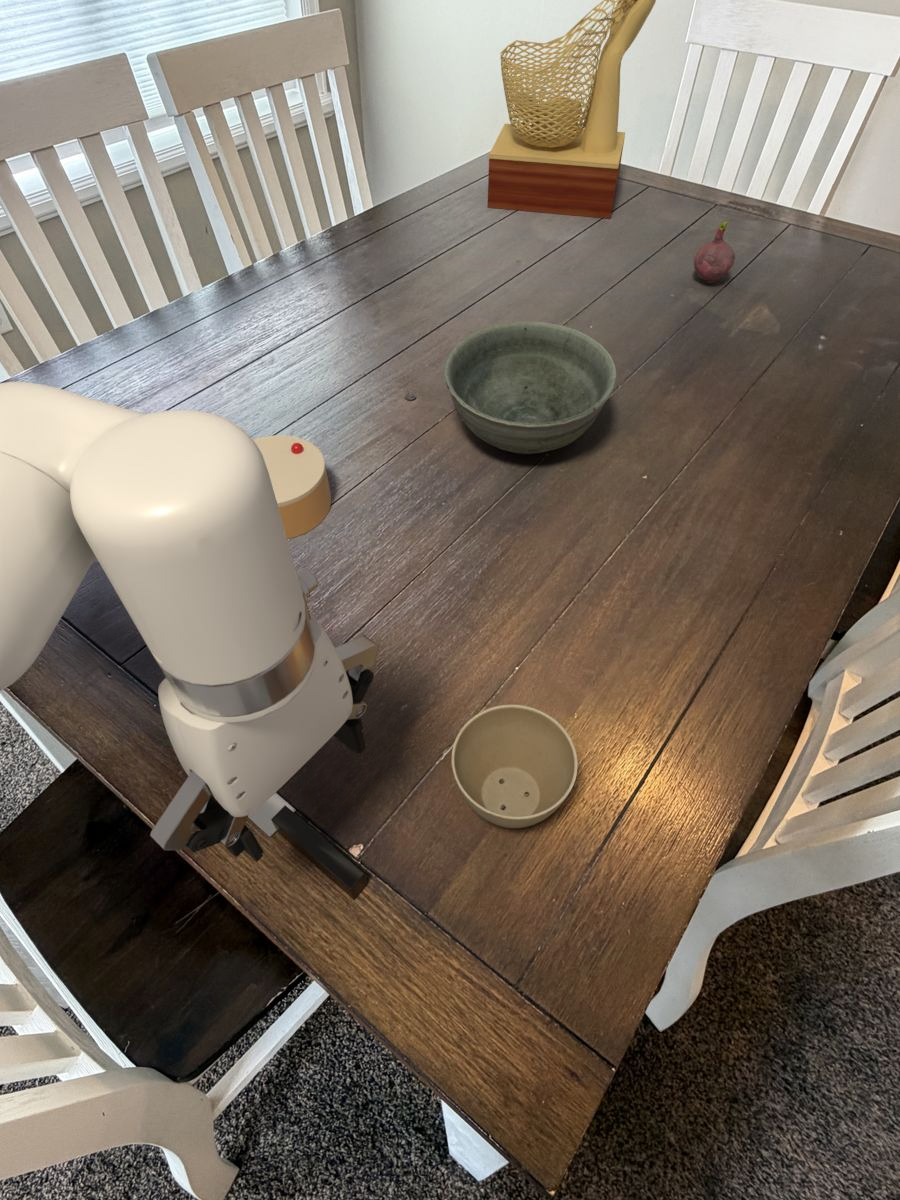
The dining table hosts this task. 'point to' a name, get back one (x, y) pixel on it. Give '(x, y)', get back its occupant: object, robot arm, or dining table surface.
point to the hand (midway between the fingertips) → (299, 790)
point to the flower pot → (514, 765)
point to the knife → (309, 844)
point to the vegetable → (714, 258)
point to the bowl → (529, 384)
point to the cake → (297, 481)
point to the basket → (565, 121)
